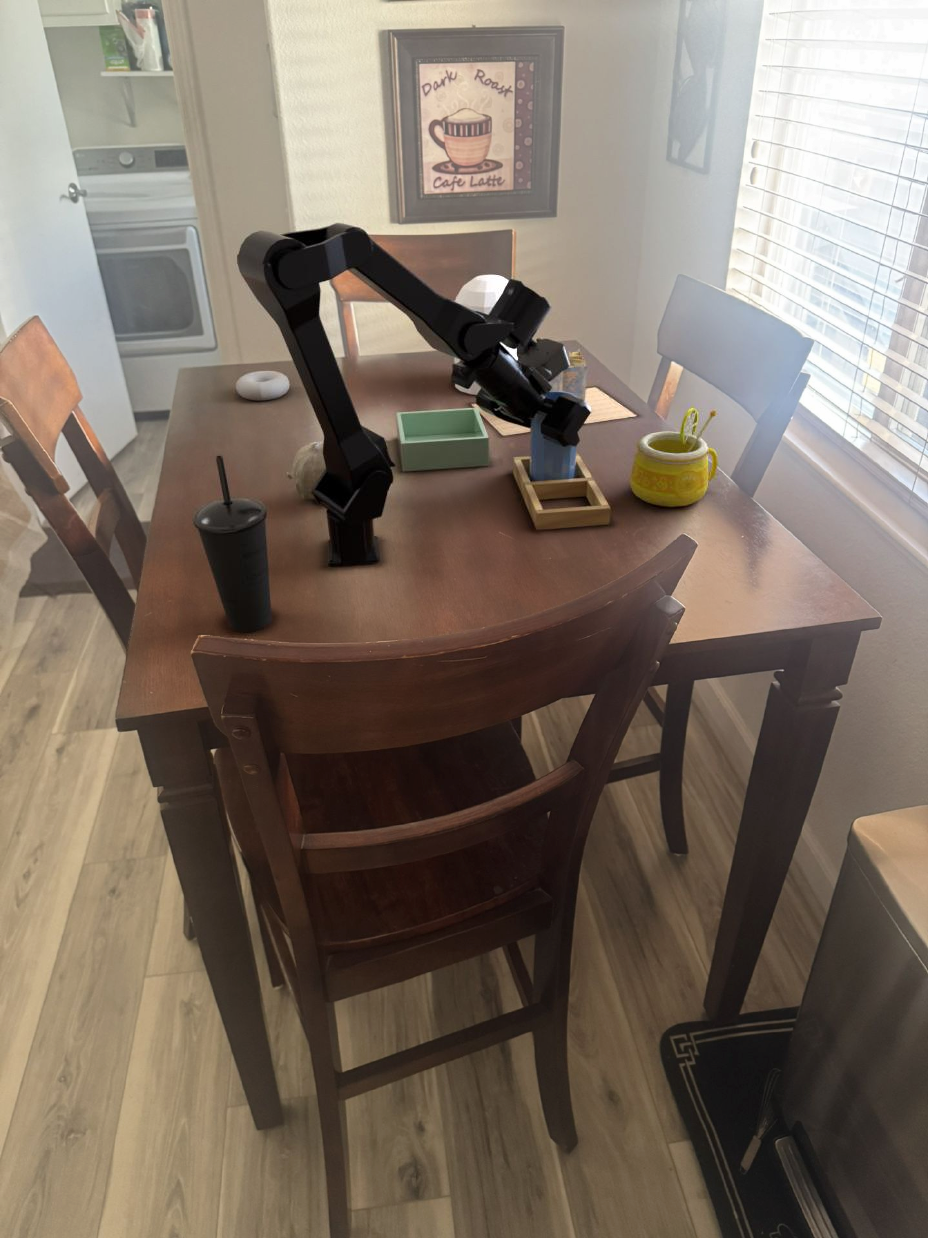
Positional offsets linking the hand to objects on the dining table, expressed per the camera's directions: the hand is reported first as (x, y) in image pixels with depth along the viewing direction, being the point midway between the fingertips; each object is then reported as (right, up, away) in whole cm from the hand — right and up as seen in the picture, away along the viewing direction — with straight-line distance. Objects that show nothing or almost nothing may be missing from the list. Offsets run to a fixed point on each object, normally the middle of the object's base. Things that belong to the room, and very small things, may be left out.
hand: (560, 436), depth 124 cm
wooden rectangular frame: (0, -9, 0) cm, 9 cm away
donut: (-52, +16, +39) cm, 67 cm away
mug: (+16, -9, 0) cm, 18 cm away
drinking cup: (-38, -27, -26) cm, 53 cm away
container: (-9, +19, +42) cm, 46 cm away
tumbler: (-1, -6, +3) cm, 7 cm away
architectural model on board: (+2, +11, +29) cm, 31 cm away
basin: (-18, 0, +14) cm, 23 cm away
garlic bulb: (-34, -9, +1) cm, 36 cm away
